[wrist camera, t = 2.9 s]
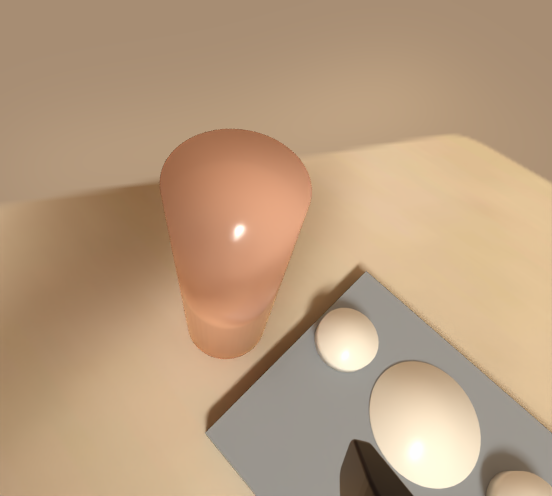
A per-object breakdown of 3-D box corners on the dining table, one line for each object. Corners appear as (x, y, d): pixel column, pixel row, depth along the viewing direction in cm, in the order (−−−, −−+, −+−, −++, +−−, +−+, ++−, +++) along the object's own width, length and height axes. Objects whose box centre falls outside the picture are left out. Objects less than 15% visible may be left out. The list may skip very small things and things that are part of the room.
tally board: (459, 746, 15) (491, 783, 13) (205, 434, 19) (204, 431, 17) (571, 463, 21) (602, 463, 19) (361, 277, 25) (371, 264, 24)
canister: (223, 376, 21) (231, 276, 10) (171, 317, 22) (127, 170, 11) (280, 322, 23) (340, 190, 12) (230, 271, 24) (242, 110, 13)
